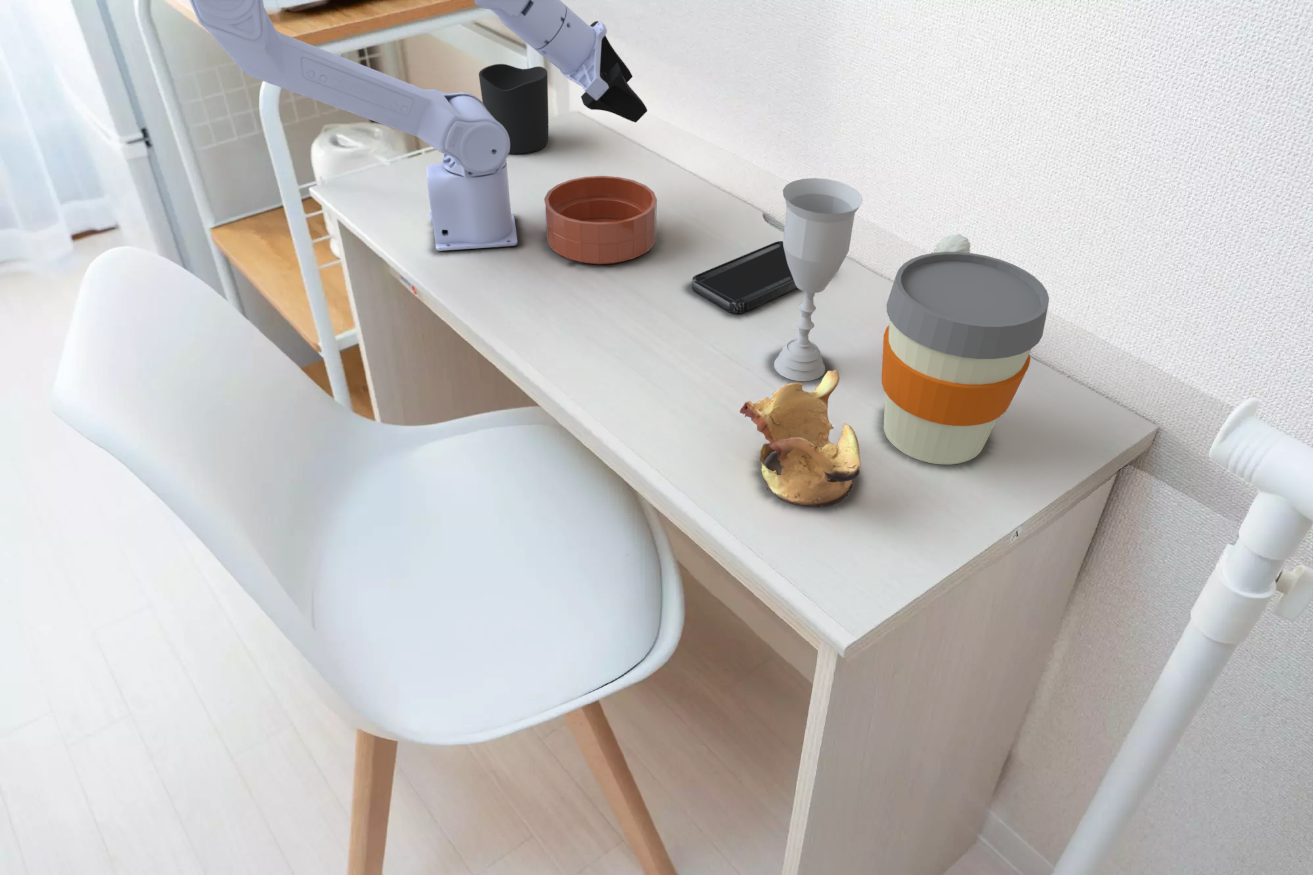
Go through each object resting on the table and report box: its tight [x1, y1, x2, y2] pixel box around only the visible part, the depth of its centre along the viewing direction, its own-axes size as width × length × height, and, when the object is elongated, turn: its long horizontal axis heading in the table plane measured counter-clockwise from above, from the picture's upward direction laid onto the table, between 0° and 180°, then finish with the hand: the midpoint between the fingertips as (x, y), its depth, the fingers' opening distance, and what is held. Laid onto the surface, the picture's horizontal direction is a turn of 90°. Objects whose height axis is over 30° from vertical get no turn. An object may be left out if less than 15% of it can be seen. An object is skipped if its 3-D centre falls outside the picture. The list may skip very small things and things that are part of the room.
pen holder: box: [478, 63, 549, 155], centre depth 133 cm, size 9×9×10 cm
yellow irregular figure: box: [739, 369, 861, 508], centre depth 77 cm, size 12×10×8 cm
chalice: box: [773, 177, 864, 382], centre depth 87 cm, size 7×7×18 cm
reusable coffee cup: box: [881, 252, 1050, 465], centre depth 80 cm, size 13×13×15 cm
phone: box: [691, 240, 798, 314], centre depth 105 cm, size 8×1×15 cm
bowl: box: [543, 175, 658, 265], centre depth 111 cm, size 13×13×6 cm
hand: (633, 98), depth 111 cm, fingers open, 7 cm apart
